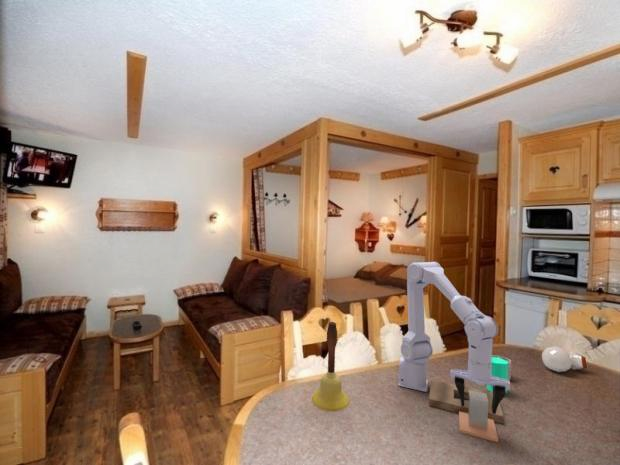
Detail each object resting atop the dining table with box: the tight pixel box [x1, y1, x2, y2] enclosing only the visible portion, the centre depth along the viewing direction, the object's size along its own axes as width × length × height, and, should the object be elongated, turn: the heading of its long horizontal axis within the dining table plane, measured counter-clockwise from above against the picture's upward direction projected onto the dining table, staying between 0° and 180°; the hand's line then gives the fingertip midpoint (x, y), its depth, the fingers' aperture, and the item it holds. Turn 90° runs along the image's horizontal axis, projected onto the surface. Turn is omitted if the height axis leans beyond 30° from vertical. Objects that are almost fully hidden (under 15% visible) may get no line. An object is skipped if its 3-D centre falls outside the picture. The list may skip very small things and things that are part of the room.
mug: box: [492, 354, 512, 381], centre depth 117 cm, size 10×7×7 cm
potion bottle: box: [541, 345, 588, 373], centre depth 122 cm, size 9×10×15 cm
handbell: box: [311, 321, 350, 412], centre depth 98 cm, size 12×12×25 cm
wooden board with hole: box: [428, 379, 505, 425], centre depth 98 cm, size 20×13×2 cm, turn 66°
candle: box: [486, 357, 508, 394], centre depth 106 cm, size 6×6×12 cm
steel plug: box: [467, 390, 488, 431], centre depth 87 cm, size 4×4×8 cm
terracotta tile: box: [458, 411, 499, 443], centre depth 86 cm, size 9×9×1 cm
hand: (477, 408), depth 86 cm, fingers open, 7 cm apart
